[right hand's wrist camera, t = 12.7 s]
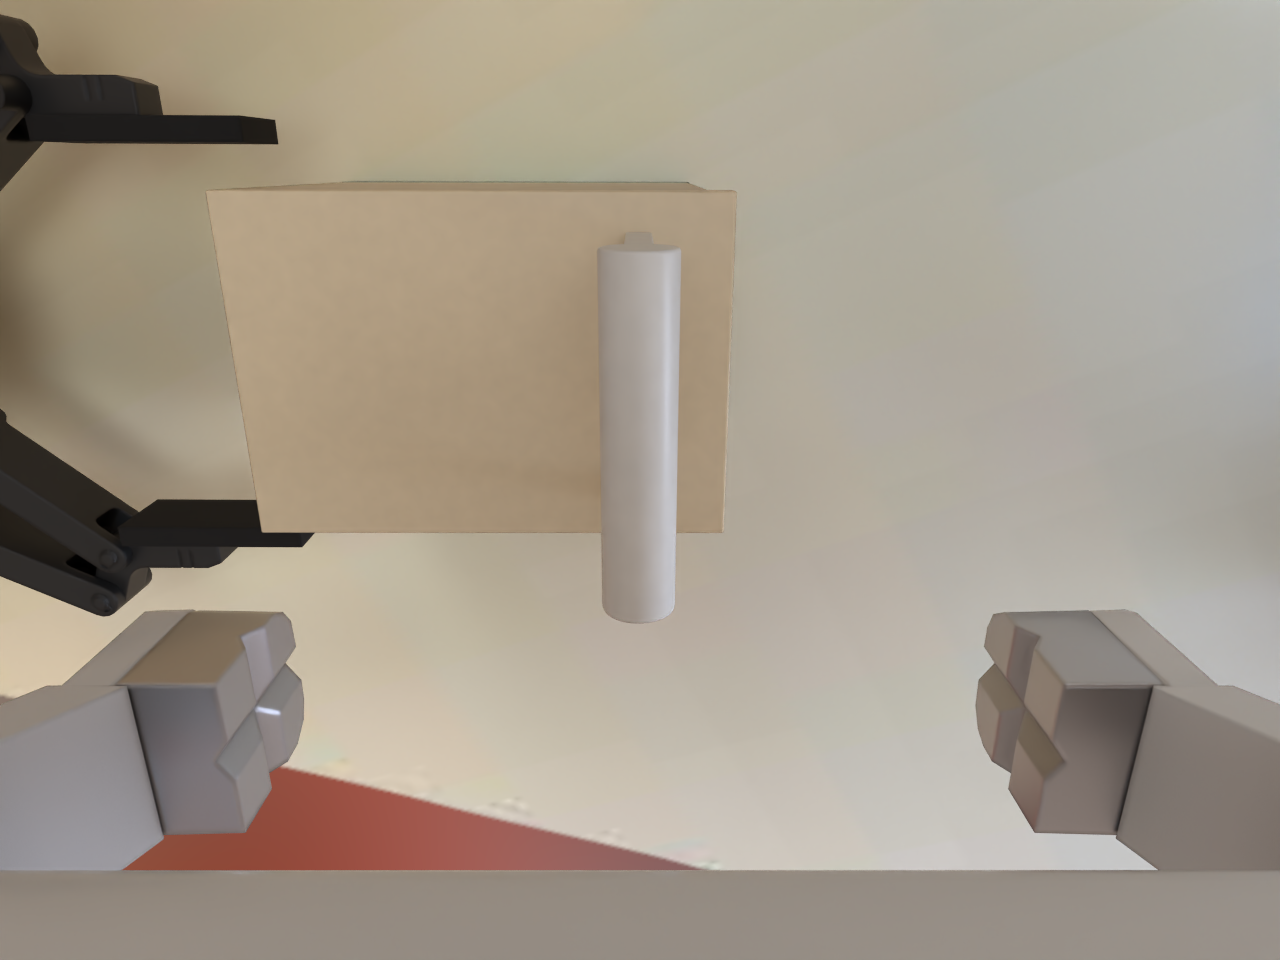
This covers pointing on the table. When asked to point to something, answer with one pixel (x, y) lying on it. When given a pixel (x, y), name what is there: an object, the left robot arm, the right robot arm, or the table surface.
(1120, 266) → the table surface
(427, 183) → the chest
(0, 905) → the right robot arm
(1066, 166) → the table surface
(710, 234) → the lid
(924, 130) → the table surface
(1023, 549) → the table surface
